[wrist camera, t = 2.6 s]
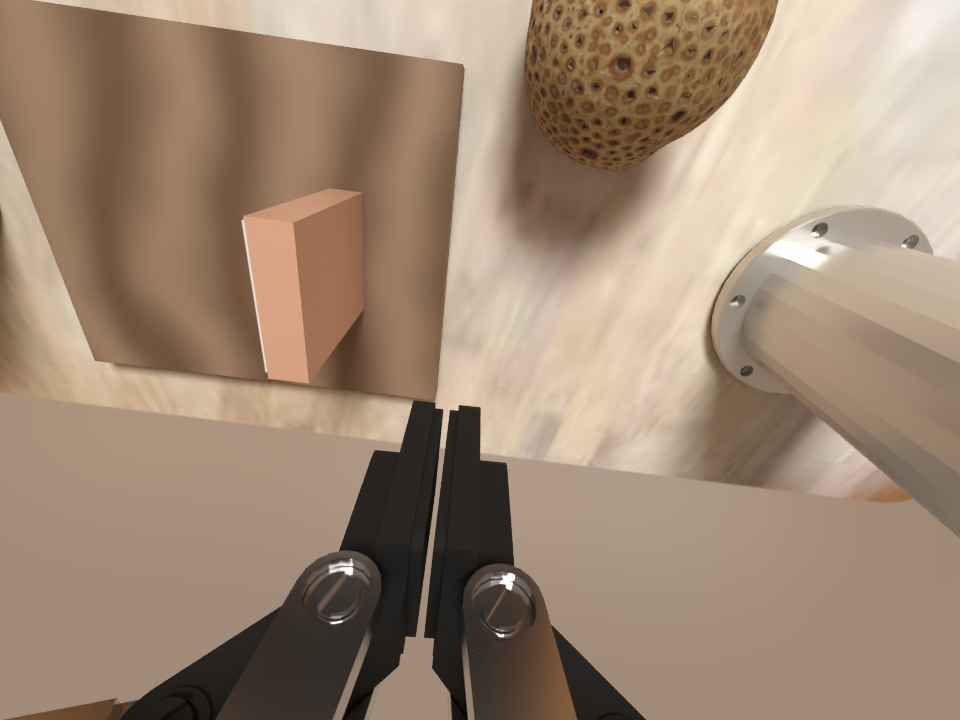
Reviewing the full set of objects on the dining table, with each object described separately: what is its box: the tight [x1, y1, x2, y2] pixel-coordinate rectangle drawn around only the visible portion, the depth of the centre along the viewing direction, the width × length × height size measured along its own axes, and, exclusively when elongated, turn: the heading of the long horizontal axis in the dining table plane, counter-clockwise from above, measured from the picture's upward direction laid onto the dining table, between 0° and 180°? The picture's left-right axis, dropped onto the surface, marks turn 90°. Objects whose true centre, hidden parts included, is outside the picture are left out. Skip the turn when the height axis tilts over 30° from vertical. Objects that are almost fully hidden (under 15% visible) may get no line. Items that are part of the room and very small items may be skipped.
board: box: [0, 0, 464, 400], centre depth 25 cm, size 24×20×2 cm
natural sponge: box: [524, 0, 778, 171], centre depth 16 cm, size 9×9×10 cm
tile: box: [242, 188, 364, 383], centre depth 20 cm, size 2×7×9 cm, turn 173°
